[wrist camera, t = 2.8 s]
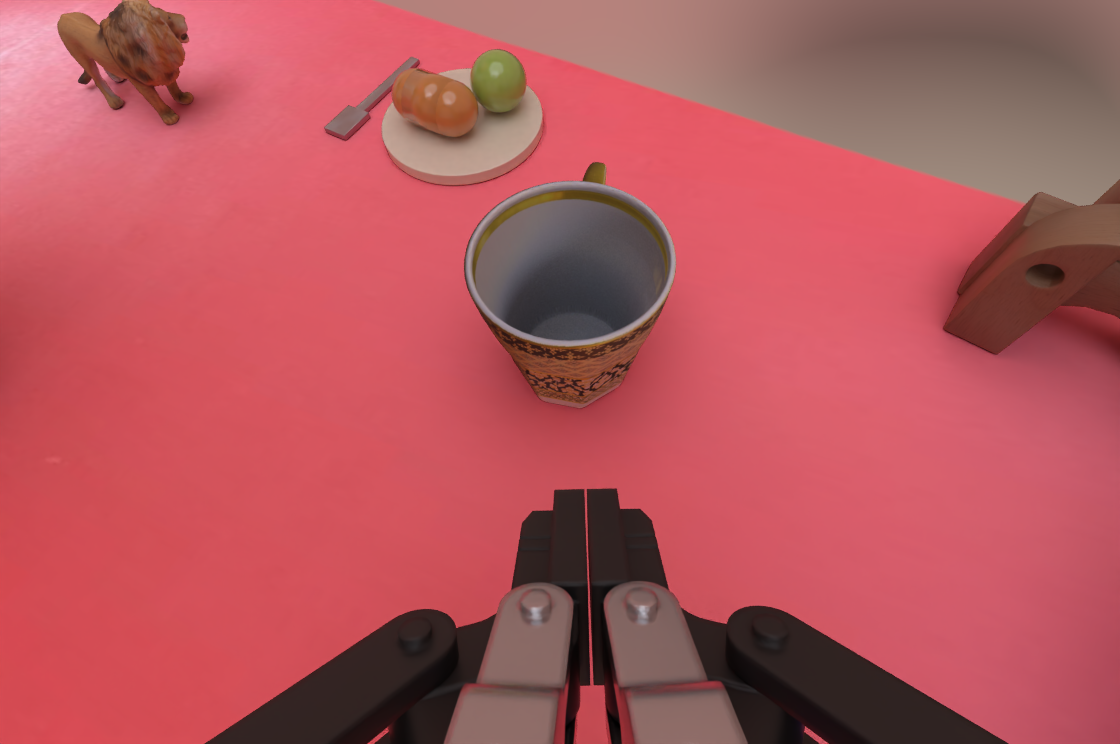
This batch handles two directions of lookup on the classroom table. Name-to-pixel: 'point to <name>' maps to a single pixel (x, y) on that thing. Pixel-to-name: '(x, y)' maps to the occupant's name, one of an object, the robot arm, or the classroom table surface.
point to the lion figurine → (130, 51)
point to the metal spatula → (364, 106)
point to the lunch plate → (469, 150)
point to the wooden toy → (1041, 269)
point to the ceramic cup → (571, 283)
